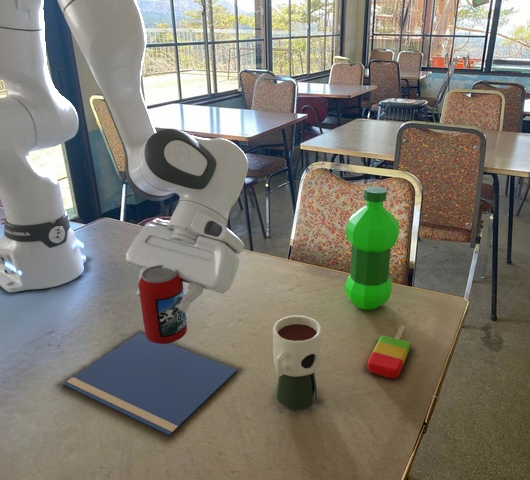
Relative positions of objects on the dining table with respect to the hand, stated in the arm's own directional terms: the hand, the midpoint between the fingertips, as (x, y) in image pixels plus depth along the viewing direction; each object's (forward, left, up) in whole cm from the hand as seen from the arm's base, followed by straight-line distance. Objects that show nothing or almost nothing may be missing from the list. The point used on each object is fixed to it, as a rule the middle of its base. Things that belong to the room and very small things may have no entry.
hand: (160, 303), depth 78 cm
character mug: (+24, +2, -11) cm, 27 cm away
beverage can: (0, +1, -7) cm, 7 cm away
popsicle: (+33, +21, -11) cm, 41 cm away
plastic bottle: (+23, +34, -11) cm, 43 cm away
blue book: (+1, -5, -11) cm, 12 cm away
